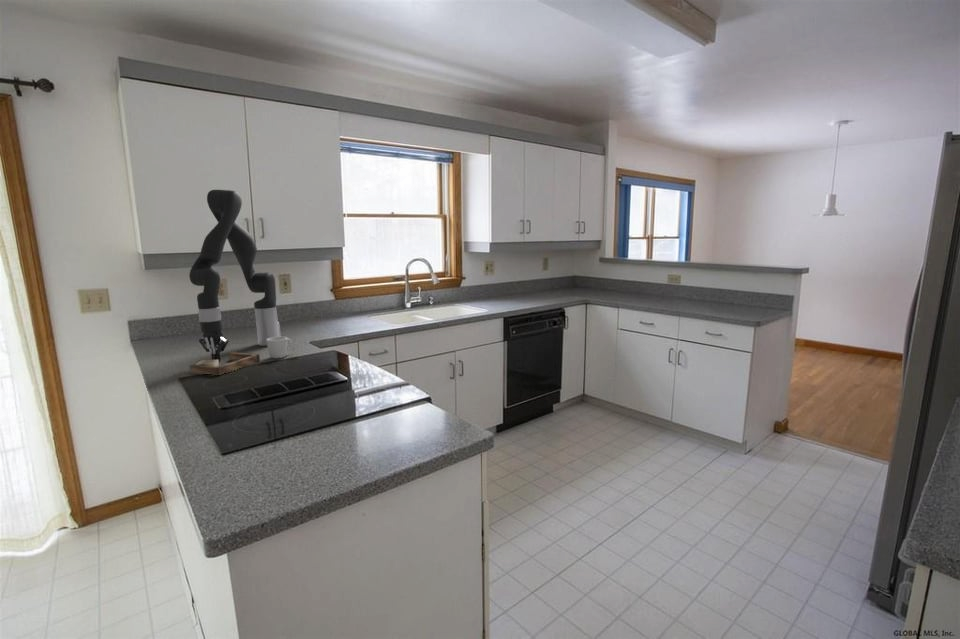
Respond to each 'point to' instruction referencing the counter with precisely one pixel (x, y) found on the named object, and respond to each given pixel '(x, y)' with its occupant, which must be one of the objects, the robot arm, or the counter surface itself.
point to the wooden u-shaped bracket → (239, 362)
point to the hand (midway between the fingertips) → (216, 362)
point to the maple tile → (209, 363)
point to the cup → (278, 346)
